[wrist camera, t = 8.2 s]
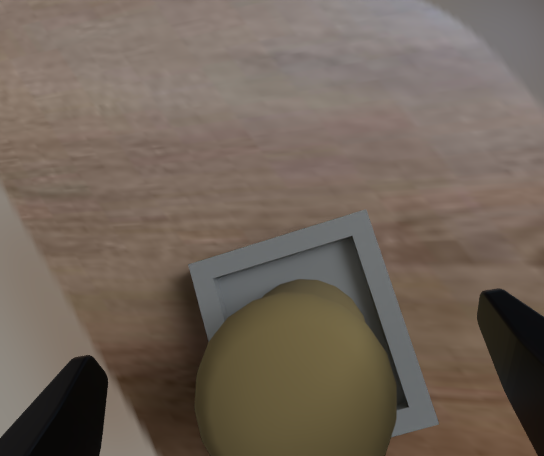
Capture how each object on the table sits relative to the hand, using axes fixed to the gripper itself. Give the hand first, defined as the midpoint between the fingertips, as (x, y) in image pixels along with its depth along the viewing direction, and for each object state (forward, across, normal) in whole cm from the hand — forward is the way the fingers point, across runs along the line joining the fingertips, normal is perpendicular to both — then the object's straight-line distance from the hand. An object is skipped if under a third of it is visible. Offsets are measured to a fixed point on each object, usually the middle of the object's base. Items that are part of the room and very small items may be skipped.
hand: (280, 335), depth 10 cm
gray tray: (+8, 0, +10) cm, 12 cm away
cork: (+7, 0, +9) cm, 11 cm away
